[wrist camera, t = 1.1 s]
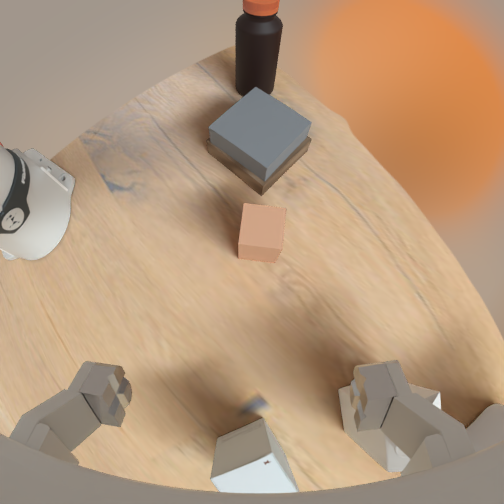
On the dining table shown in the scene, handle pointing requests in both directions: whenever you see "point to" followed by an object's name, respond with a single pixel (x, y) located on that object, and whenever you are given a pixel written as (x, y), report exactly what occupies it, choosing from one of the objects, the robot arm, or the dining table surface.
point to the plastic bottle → (487, 428)
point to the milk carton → (376, 439)
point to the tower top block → (259, 132)
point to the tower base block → (251, 177)
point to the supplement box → (251, 462)
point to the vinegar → (257, 45)
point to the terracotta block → (261, 233)
